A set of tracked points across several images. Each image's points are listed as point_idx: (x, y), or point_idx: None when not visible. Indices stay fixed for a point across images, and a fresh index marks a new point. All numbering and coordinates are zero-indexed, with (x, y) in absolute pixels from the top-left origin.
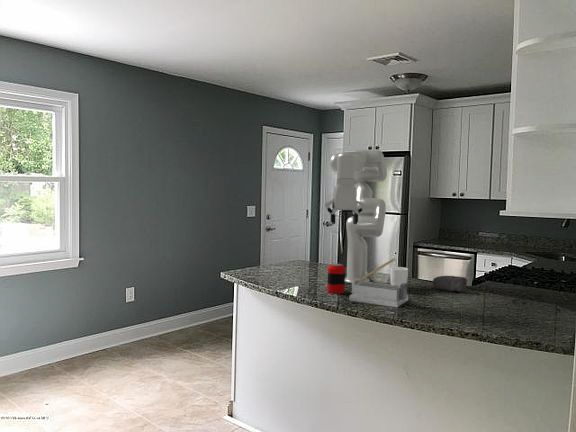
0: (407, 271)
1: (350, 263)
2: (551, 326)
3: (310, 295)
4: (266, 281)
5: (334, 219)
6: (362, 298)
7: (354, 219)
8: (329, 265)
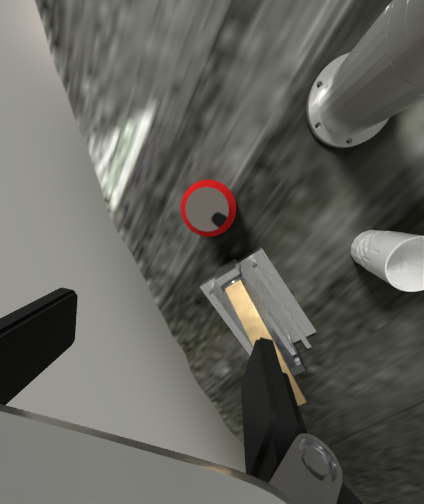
0: (419, 286)
1: (347, 83)
2: (385, 497)
3: (145, 217)
4: (88, 7)
5: (35, 368)
6: (216, 307)
7: (251, 398)
8: (186, 199)
